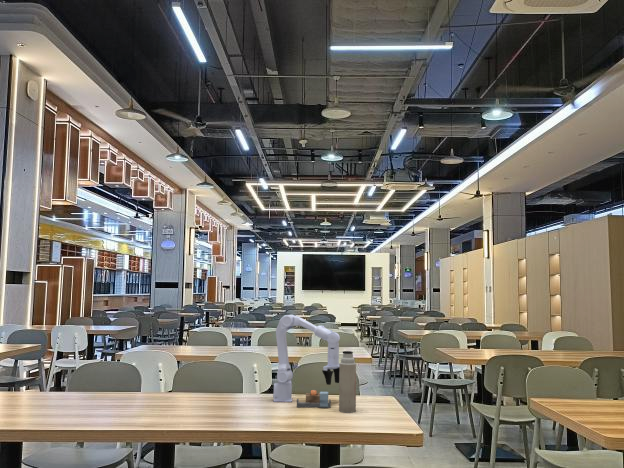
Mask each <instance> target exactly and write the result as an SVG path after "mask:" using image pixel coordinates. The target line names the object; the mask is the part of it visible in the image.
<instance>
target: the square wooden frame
mask: <svg viewBox="0 0 624 468" xmlns="http://www.w3.org/2000/svg"><path fill="white" fill-rule="evenodd" d="M305 402H320V392H317V395H311V392H309V393H308V392H305Z"/></svg>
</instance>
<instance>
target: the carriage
mask: <svg viewBox="0 0 624 468" xmlns="http://www.w3.org/2000/svg"><path fill="white" fill-rule="evenodd" d="M319 393H320V407H328V403H329V391H319Z"/></svg>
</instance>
